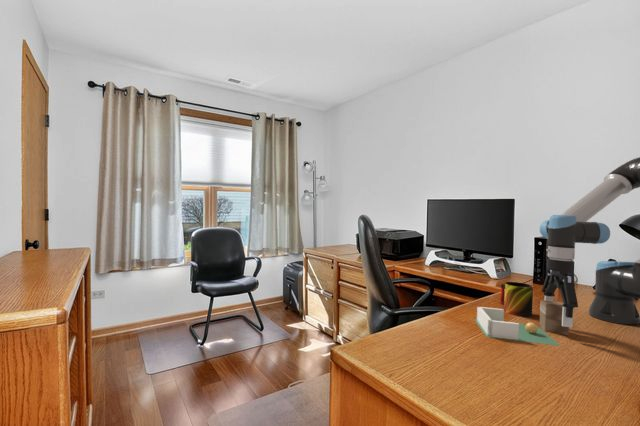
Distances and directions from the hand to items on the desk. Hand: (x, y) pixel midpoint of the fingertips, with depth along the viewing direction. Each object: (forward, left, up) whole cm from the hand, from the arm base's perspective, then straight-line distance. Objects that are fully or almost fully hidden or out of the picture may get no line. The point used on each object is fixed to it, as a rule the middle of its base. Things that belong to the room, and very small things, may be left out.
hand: (557, 320), depth 111 cm
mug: (+8, -19, -4) cm, 21 cm away
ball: (+10, +6, -2) cm, 12 cm away
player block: (+1, 0, -4) cm, 4 cm away
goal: (+20, +6, -4) cm, 21 cm away
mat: (+15, +6, -4) cm, 17 cm away
